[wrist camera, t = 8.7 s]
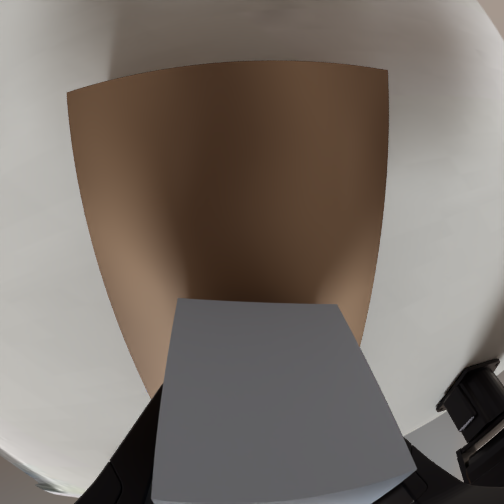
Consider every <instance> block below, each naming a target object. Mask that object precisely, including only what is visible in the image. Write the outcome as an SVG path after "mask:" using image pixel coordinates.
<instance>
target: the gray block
mask: <svg viewBox="0 0 504 504" xmlns="http://www.w3.org/2000/svg"><path fill="white" fill-rule="evenodd" d="M416 470H417V468H416V465H415V463H414V461H413V458H412V456H411V454H410V451H409V449H408V447H407V445H406V442H405V440H404V438H403V436H402V434H401V431H400V429H399V427H398V425H397V423H396V420H395V418H394V416H393V414H392V412H391V410H390V408H389V406H388V403H387V401H386V399H385V397H384V395H383V393H382V391H381V389H380V387H379V385H378V383H377V381H376V379H375V377H374V375H373V373H372V371H371V369H370V367H369V365H368V363H367V361H366V359H365V357H364V355H363V353H362V351H361V349H360V347H359V345H358V343H357V341H356V339H355V337H354V335H353V333H352V331H351V329H350V328H349V326H348V324H347V322H346V320H345V318H344V316H343V314H342V312H341V311H340V309H339V307H338V305H337V304H294V303H261V302H237V301H217V300H200V299H185V298H178V299H177V305H176V310H175V315H174V321H173V326H172V332H171V338H170V344H169V350H168V356H167V362H166V369H165V376H164V382H163V389H162V397H161V404H160V412H159V420H158V429H157V438H156V447H155V457H154V468H153V480H152V494H151V499H152V501H153V503H154V504H371V503H373V502H374V501H376V500H377V499H379V498H380V497H382V496H383V495H384V494H386V493H387V492H389V491H390V490H391V489H393V488H394V487H395V486H397V485H398V484H399V483H401V482H402V481H403V480H404V479H406V478H407V477H408V476H409V475H411V474H412V473H413V472H414V471H416Z"/></svg>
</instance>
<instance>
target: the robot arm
mask: <svg viewBox="0 0 504 504" xmlns="http://www.w3.org/2000/svg"><path fill="white" fill-rule="evenodd" d="M499 363H500V361H499V359H495V360H492V361H489V362H485V363H482V364H479V365H476V366H472V367H469V368H467V369H465V370H464V371H463V373H462V374H461V376H460V377H459V379H458V380H457V381H456V383H455V384H454V385H453V387H452V388H451V390H450V391H449V392H448V394H447V395H446V396H445V397H444V399H443V400H442V401H441V403H440V404H439V405H438V406H437V408H436V410H437V412H441V411H444V410H447V411H448V413H449V415H450V417H451V418H452V420H453V422H454V424H455V425H456V427H457V429H458V431H459V432H462V434H463V436H464V438H465V440H466V441H467V443H468V444H467V445H465V446H464V447H463V448H461V449H459V450H458V451H456V454H457V457H458V458H457V460H458V463H459V466H460V470H461V473H462V477H463V480H464V482H462V481H460V480H458V479H457V478H455V477H454V476H452V475H451V474H449V473H448V472H447V471H445V470H444V469H442V468H441V467H439V466H438V465H436V464H435V463H434V462H432V461H431V460H430V459H428V458H427V457H426V456H425V455H424V454H422V453H421V452H420V451H419V450H418V449H417V448H416V447H414V446H413V445H412V446H411V443H410V442H409V441H408V440H407V439H405V438H404V437H403V438H404V440H405V442H406V445H407V447H408V449H409V451H410V454H411V456H412V458H413V461H414V463H415V465H416V468H417V470H416V471H414V472H413V473H412V474H411V475H409V476H408V477H407V478H406V479H404V480H403V481H402V482H401V483H399V484H398V485H397V486H395V487H394V488H393V489H391V490H390V491H389V492H387V493H386V494H384V495H383V496H382V497H380V498H379V499H377V500H376V501H374V502H373V503H371V504H504V428H503V427H504V386H503V385H502V383H501V382H500V380H499V379H498V378H497V376H496V375H495V374H494V370H495V369H496V368H497V366H498V365H499ZM162 389H163V384H162V385H161V386H160V388H159V389H158V390H157V392H156V393H155V395H154V396H153V398H152V399H151V401H150V402H149V404H148V405H147V406H146V408H145V409H144V411H143V412H142V414H141V415H140V417H139V418H138V420H137V421H136V423H135V424H134V425H133V427H132V428H131V430H130V431H129V433H128V434H127V436H126V437H125V439H124V440H123V441H122V443H121V444H120V446H119V447H118V449H117V450H116V452H115V453H114V455H113V456H112V457H111V459H110V462H108V463H107V465H106V466H105V468H104V469H103V470H102V472H101V473H100V474H99V476H98V477H97V478H96V480H95V481H94V482H93V483H92V485H91V486H90V487H89V488H88V489H87V490H86V491H85V493H84V494H83V495H82V496H81V497H80V498H79V499H78V500H77V501H76V502H75V503H74V504H154V503H153V501H152V499H151V494H152V480H153V468H154V457H155V447H156V438H157V429H158V420H159V412H160V404H161V397H162ZM502 428H503V429H502ZM501 429H502V430H501ZM500 430H501V431H500ZM498 431H500V432H499V433H498V434H497V435H496V436H494V435H495V434H496V433H497V432H498ZM493 436H494V437H493ZM492 437H493V438H492ZM491 438H492V439H491ZM489 439H491V440H490V441H489V442H487V441H488V440H489ZM486 442H487V443H486ZM485 443H486V444H485ZM483 444H485V445H484V446H483V447H481V446H482V445H483ZM480 447H481V448H480ZM478 448H480V449H479V450H477V449H478ZM476 450H477V451H476Z"/></svg>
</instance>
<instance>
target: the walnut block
mask: <svg viewBox="0 0 504 504" xmlns="http://www.w3.org/2000/svg"><path fill="white" fill-rule="evenodd" d="M67 104H68V115H69V125H70V133H71V141H72V148H73V155H74V161H75V167H76V173H77V179H78V184H79V189H80V194H81V199H82V203H83V208H84V212H85V217H86V221H87V225H88V229H89V233H90V237H91V241H92V244H93V248H94V252H95V255H96V259H97V262H98V265H99V269H100V272H101V275H102V278H103V282H104V285H105V288H106V291H107V294H108V297H109V300H110V302H111V305H112V308H113V311H114V314H115V316H116V319H117V322H118V324H119V327H120V330H121V332H122V335H123V337H124V340H125V342H126V345H127V347H128V349H129V352H130V354H131V357H132V359H133V361H134V363H135V366H136V368H137V370H138V372H139V375H140V377H141V379H142V381H143V383H144V385H145V388H146V390H147V392H148V394H149V396H150V398H151V399H152V398H153V396H154V395H155V393H156V392H157V390H158V389H159V388H160V386H161V385H162V384H163V382H164V376H165V369H166V362H167V356H168V350H169V344H170V338H171V332H172V326H173V321H174V315H175V310H176V305H177V299H178V298H185V299H200V300H217V301H237V302H261V303H294V304H337V305H338V307H339V309H340V311H341V312H342V314H343V316H344V318H345V320H346V322H347V324H348V326H349V328H350V329H351V331H352V333H353V335H354V337H355V339H356V341H357V343H358V345H359V347H360V344H361V340H362V336H363V331H364V327H365V322H366V318H367V313H368V308H369V303H370V298H371V293H372V288H373V282H374V276H375V270H376V264H377V258H378V251H379V244H380V236H381V229H382V220H383V211H384V201H385V190H386V177H387V160H388V134H389V90H388V70H383V69H377V68H370V67H363V66H355V65H347V64H337V63H325V62H310V61H237V62H221V63H209V64H199V65H191V66H183V67H175V68H169V69H162V70H156V71H151V72H145V73H140V74H135V75H130V76H126V77H121V78H117V79H113V80H109V81H105V82H101V83H97V84H94V85H90V86H87V87H83V88H80V89H76V90H73V91H70V92H67Z"/></svg>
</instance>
